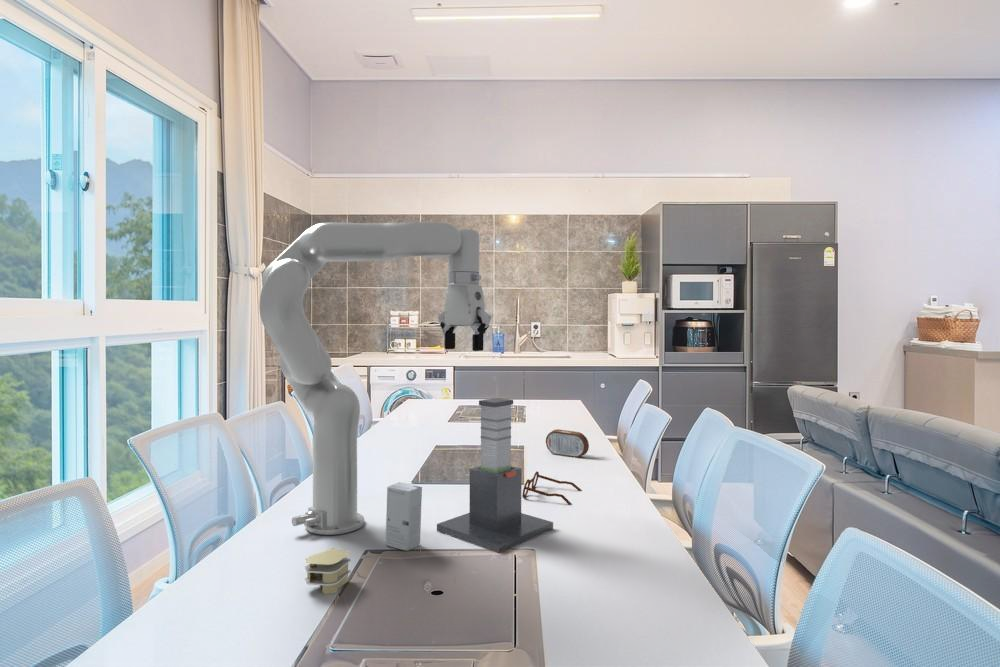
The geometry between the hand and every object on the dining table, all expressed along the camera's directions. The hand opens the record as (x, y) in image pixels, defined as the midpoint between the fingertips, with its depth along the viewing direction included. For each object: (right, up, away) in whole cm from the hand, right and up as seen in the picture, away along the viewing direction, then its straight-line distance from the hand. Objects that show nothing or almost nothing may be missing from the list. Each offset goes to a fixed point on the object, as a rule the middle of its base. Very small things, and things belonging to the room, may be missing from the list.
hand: (463, 349), depth 148 cm
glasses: (+23, -39, +9) cm, 46 cm away
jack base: (+8, -39, -17) cm, 43 cm away
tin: (+31, -37, +53) cm, 72 cm away
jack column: (+8, -31, -17) cm, 37 cm away
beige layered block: (-21, -40, -44) cm, 63 cm away
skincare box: (-11, -39, -26) cm, 48 cm away
